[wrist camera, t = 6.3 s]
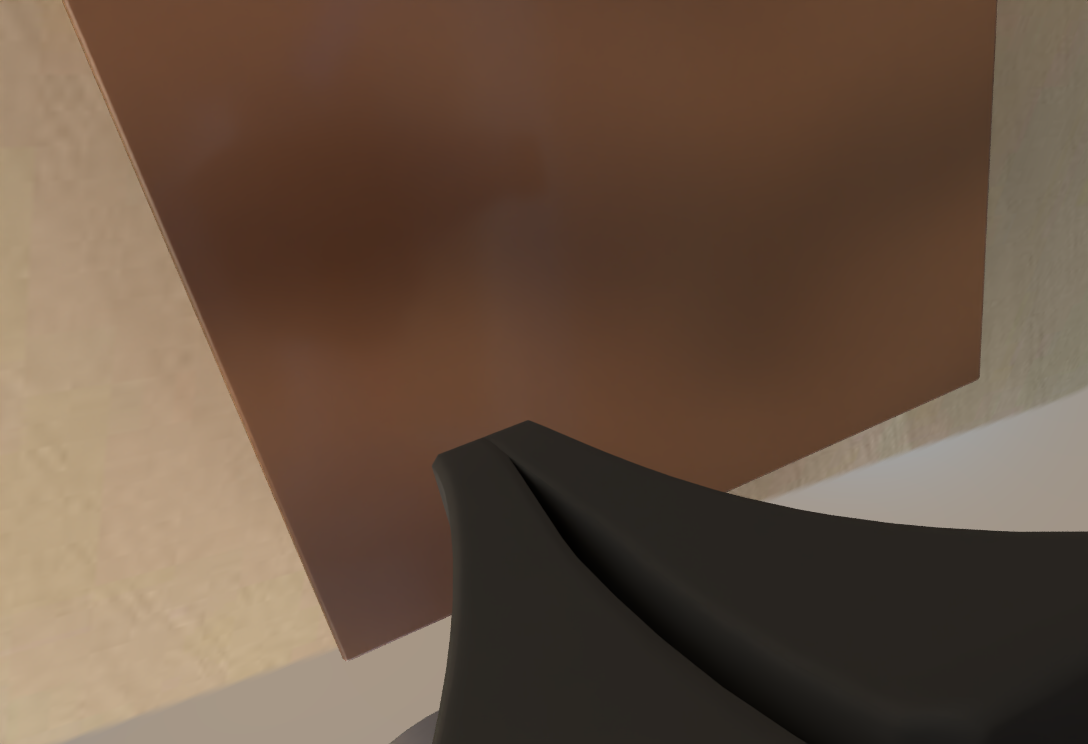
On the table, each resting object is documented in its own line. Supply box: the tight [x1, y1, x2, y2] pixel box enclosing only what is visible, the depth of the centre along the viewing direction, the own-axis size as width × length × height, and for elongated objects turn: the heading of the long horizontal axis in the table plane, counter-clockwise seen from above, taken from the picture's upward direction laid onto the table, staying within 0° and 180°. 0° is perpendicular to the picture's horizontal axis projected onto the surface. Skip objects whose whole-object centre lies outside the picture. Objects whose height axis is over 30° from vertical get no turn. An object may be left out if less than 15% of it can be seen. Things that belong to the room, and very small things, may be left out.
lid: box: [62, 0, 997, 661], centre depth 15 cm, size 13×16×1 cm
